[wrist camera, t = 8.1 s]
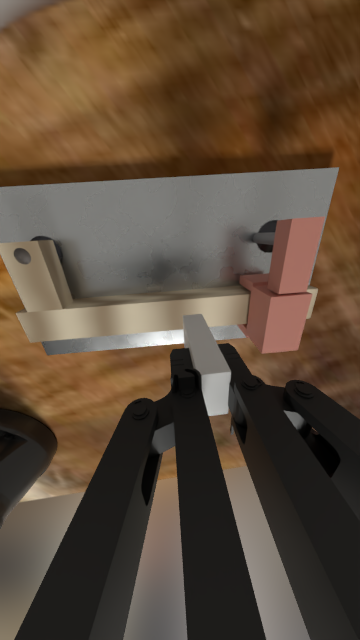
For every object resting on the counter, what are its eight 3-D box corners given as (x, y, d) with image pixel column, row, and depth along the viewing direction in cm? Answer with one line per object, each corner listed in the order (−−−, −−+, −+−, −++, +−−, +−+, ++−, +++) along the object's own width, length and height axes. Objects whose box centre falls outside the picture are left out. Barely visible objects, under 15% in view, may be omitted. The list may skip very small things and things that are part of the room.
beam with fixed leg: (49, 327, 20) (30, 342, 17) (12, 242, 16) (-19, 244, 13) (291, 307, 20) (310, 318, 18) (309, 222, 17) (337, 220, 14)
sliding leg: (235, 323, 20) (261, 356, 15) (243, 224, 16) (283, 219, 11) (261, 320, 20) (296, 353, 15) (275, 222, 16) (333, 215, 11)
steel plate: (52, 350, 22) (46, 355, 21) (-19, 191, 15) (-32, 188, 14) (292, 329, 23) (297, 333, 22) (329, 171, 16) (340, 166, 15)
